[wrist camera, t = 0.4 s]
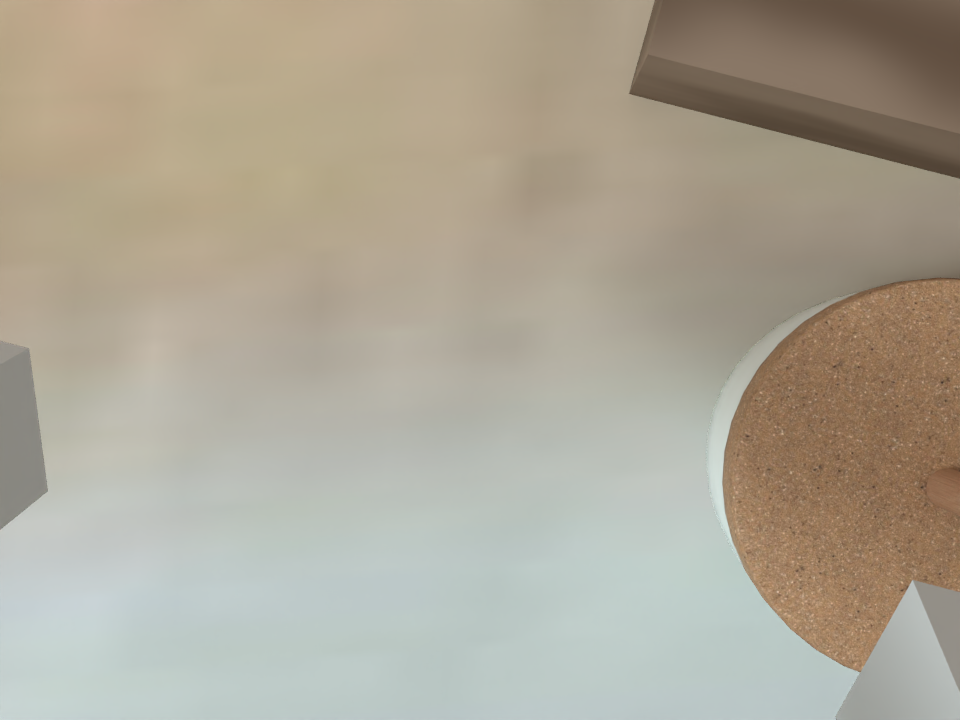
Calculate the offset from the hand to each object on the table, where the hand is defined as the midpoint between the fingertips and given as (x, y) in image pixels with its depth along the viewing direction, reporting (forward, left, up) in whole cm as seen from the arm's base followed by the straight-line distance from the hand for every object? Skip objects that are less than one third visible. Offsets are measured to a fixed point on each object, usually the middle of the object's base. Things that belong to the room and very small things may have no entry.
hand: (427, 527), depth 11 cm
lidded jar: (+2, -12, -17) cm, 21 cm away
